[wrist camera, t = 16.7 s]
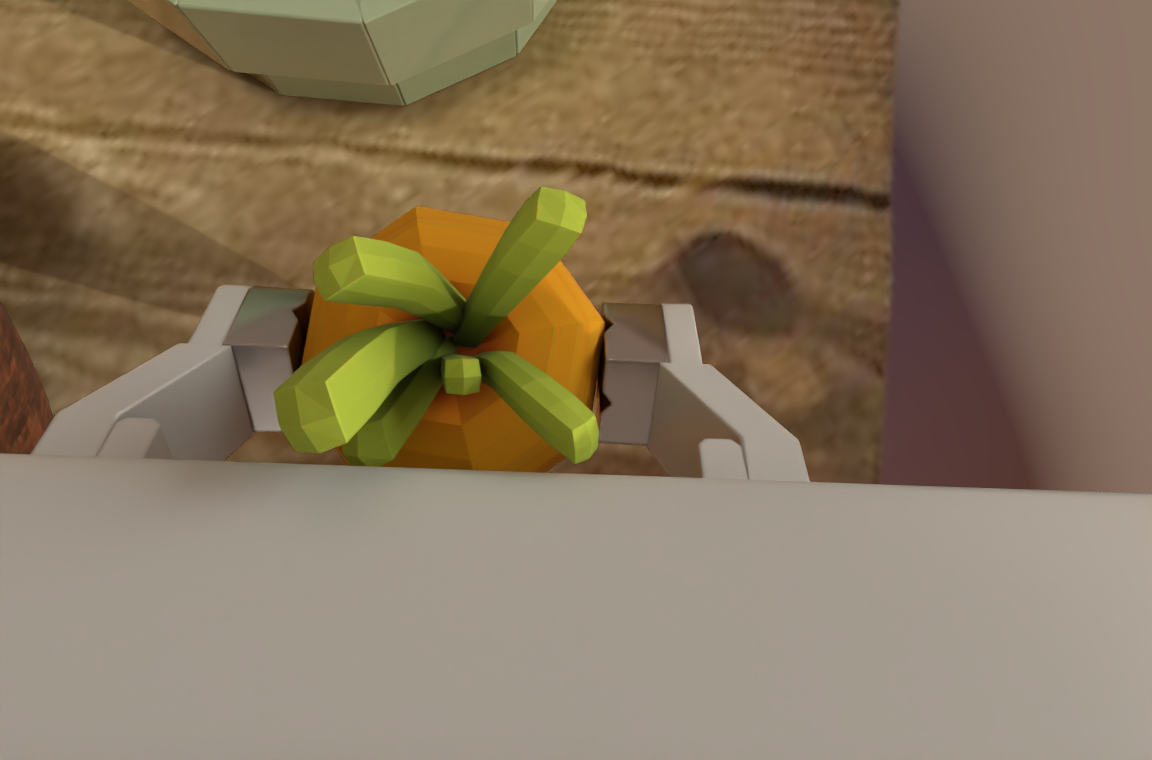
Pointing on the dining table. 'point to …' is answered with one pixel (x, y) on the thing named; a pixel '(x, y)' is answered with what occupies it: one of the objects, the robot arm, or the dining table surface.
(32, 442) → the wooden bowl
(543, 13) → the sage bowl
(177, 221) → the dining table surface
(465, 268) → the carrot
